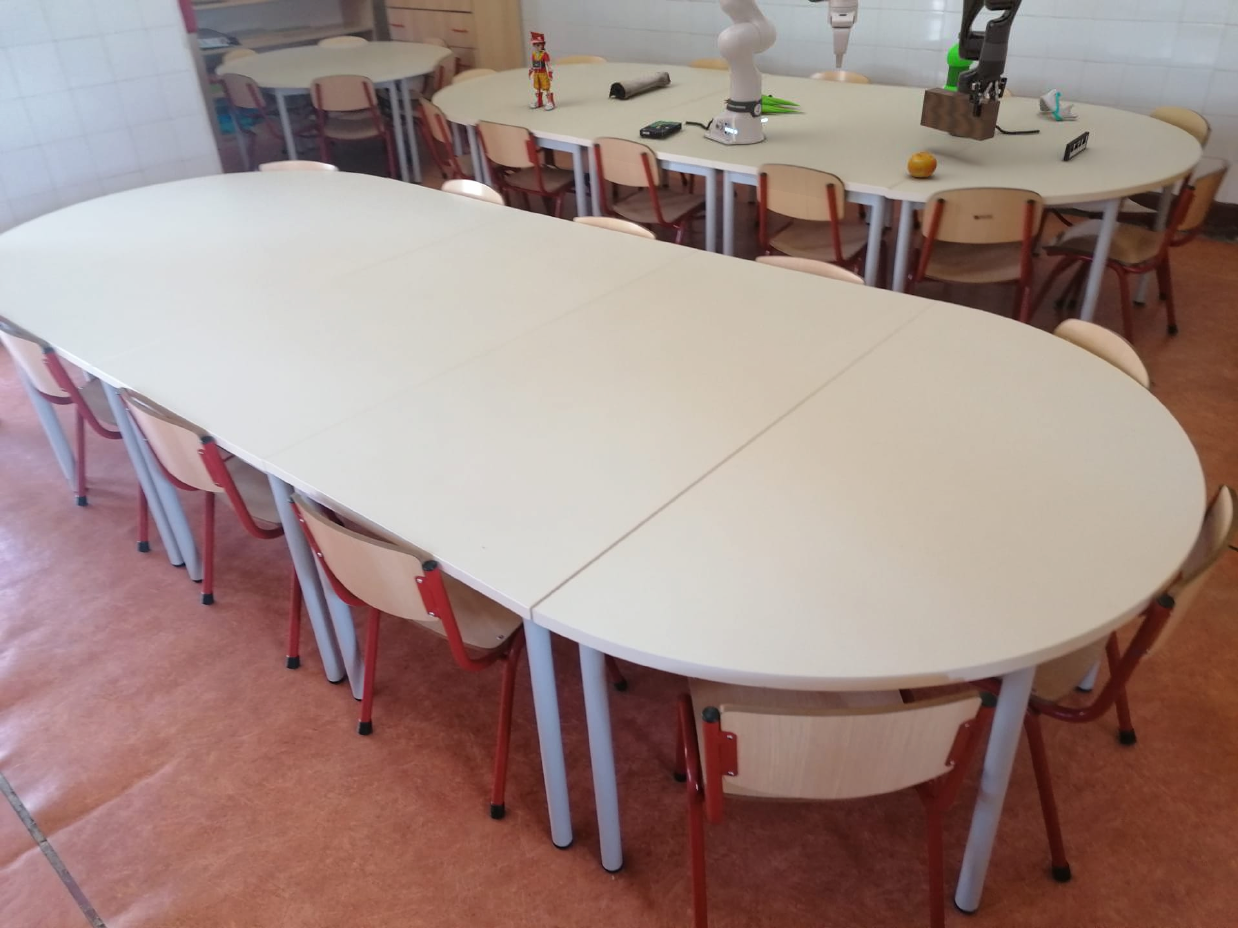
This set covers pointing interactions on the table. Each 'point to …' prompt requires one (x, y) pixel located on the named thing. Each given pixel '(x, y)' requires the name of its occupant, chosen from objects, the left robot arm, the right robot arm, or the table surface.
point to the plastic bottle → (955, 67)
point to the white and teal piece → (1055, 105)
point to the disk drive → (660, 129)
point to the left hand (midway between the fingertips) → (838, 64)
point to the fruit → (922, 164)
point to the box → (959, 114)
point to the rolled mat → (638, 84)
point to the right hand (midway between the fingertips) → (983, 115)
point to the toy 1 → (541, 71)
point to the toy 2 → (769, 104)
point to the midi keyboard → (1076, 145)
